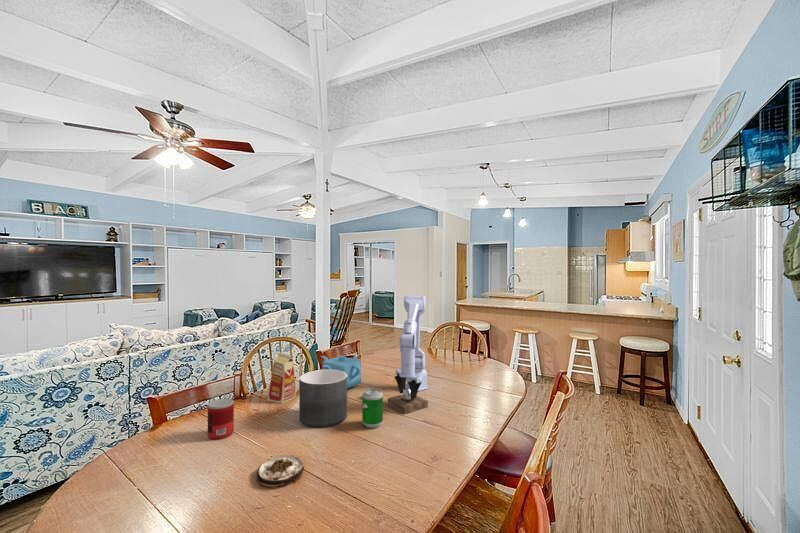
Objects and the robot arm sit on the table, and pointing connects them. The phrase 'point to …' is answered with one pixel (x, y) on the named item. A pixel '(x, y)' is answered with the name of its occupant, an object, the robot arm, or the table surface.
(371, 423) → the soda can
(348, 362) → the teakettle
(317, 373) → the planter
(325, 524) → the table surface
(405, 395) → the long pin
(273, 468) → the sushi roll
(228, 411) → the canned food
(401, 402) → the socket block
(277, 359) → the milk carton
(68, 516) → the table surface
